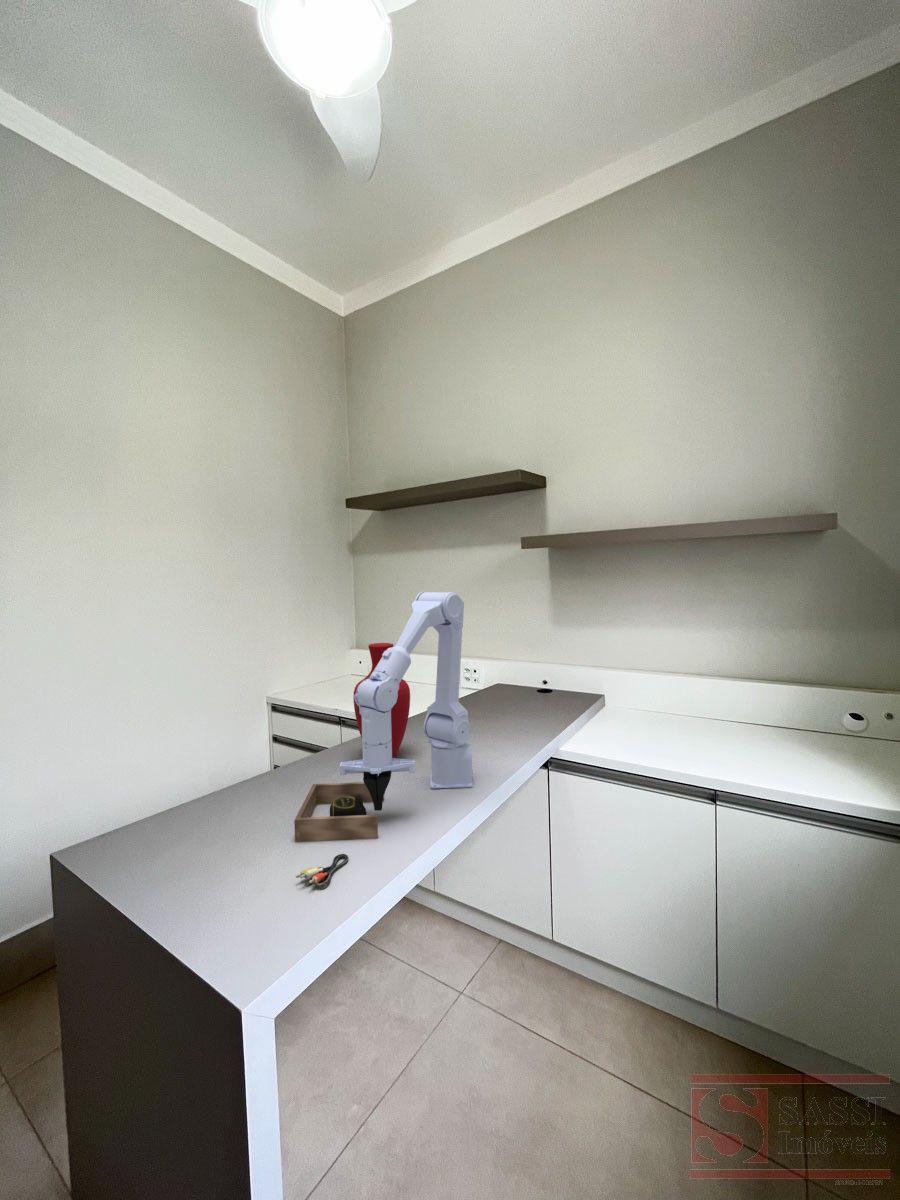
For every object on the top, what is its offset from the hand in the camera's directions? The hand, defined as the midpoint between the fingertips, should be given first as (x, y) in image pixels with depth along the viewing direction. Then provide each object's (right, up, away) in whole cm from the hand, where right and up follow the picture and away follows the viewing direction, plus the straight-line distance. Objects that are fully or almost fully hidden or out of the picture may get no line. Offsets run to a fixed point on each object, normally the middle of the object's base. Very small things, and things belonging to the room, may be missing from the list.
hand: (378, 808), depth 98 cm
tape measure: (-5, -2, 0) cm, 6 cm away
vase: (-3, -1, +33) cm, 33 cm away
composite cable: (-5, -3, -18) cm, 19 cm away
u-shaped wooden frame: (-7, -2, 0) cm, 7 cm away
